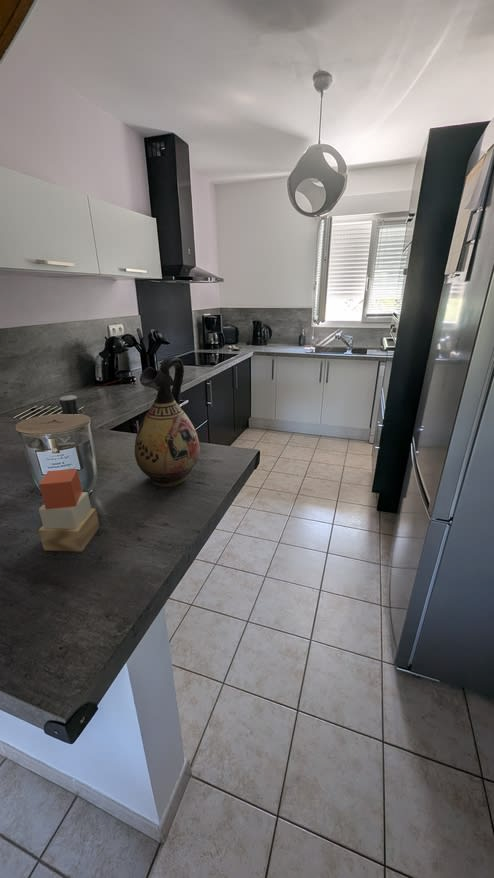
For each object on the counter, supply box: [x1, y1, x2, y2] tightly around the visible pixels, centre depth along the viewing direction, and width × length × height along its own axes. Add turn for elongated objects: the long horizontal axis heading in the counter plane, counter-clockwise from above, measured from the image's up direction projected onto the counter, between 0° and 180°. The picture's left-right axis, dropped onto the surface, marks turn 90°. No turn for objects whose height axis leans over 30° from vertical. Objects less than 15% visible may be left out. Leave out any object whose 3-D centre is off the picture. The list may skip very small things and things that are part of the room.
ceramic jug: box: [134, 356, 201, 488], centre depth 84 cm, size 17×15×30 cm
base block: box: [38, 507, 100, 553], centre depth 67 cm, size 7×7×4 cm
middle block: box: [38, 491, 92, 529], centre depth 65 cm, size 6×6×4 cm
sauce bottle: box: [58, 395, 81, 415], centre depth 90 cm, size 6×6×20 cm
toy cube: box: [39, 468, 83, 509], centre depth 64 cm, size 5×5×5 cm
